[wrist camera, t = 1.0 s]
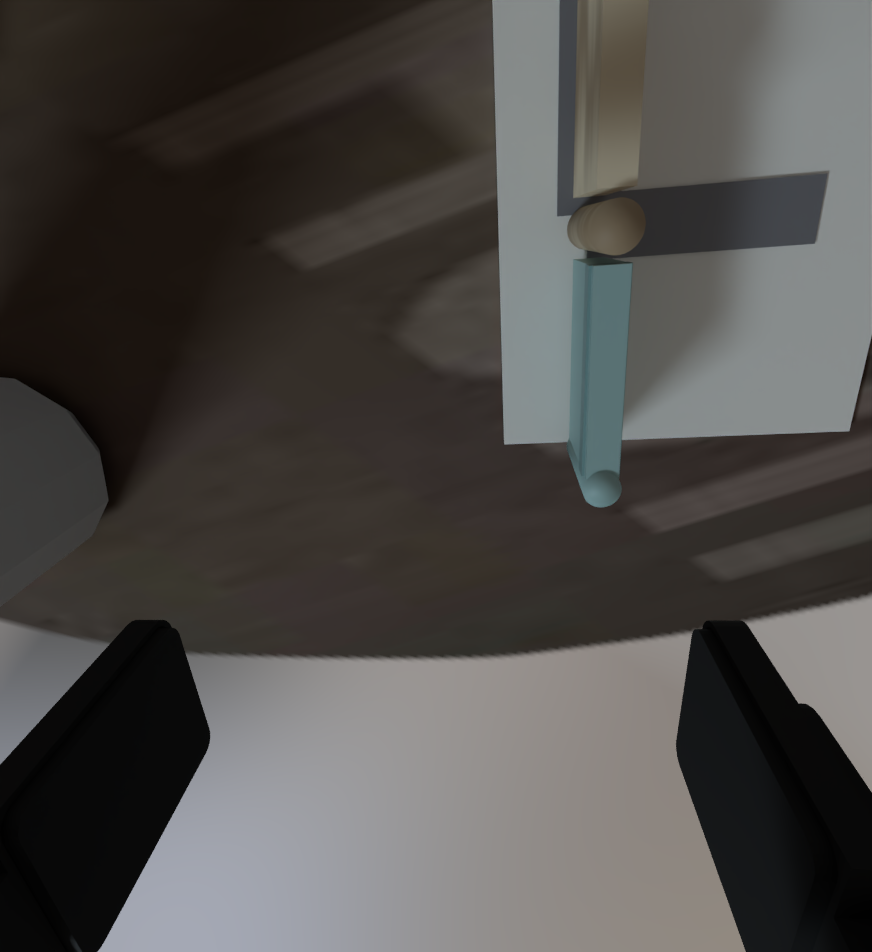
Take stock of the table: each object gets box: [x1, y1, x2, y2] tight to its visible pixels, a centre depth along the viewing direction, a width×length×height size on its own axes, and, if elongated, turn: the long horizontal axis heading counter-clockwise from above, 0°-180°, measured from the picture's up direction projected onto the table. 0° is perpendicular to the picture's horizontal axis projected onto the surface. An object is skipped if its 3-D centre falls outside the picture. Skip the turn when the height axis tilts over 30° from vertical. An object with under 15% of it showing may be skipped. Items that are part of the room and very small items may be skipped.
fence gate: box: [567, 257, 633, 507], centre depth 21 cm, size 9×1×5 cm, turn 5°
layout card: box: [492, 0, 872, 444], centre depth 22 cm, size 17×15×1 cm
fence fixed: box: [567, 0, 649, 255], centre depth 18 cm, size 9×2×6 cm, turn 5°
